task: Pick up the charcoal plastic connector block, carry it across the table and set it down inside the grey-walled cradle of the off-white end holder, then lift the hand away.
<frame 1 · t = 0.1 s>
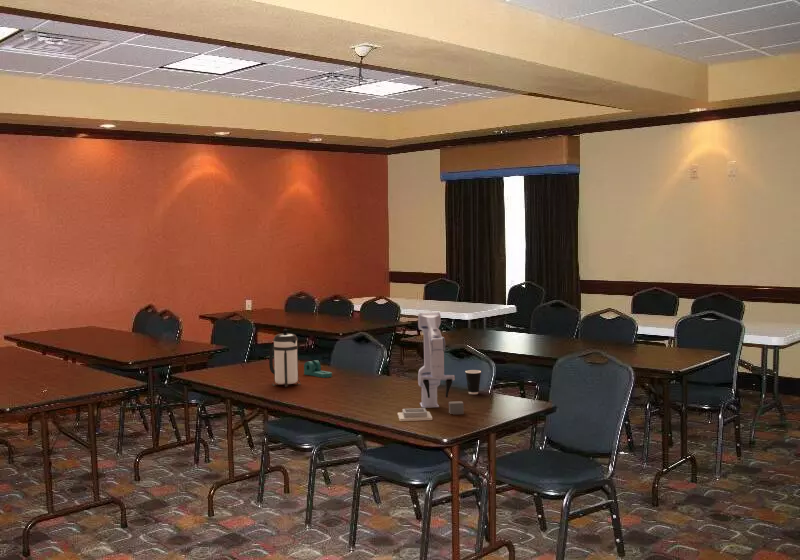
hand: (437, 397, 347), 10 cm above the table, fingers open, 7 cm apart
end holder: (414, 417, 353), on the table
coffee press: (284, 385, 431), on the table
bracket: (319, 376, 457), on the table
dixie cup: (473, 393, 402), on the table
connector: (456, 413, 360), on the table
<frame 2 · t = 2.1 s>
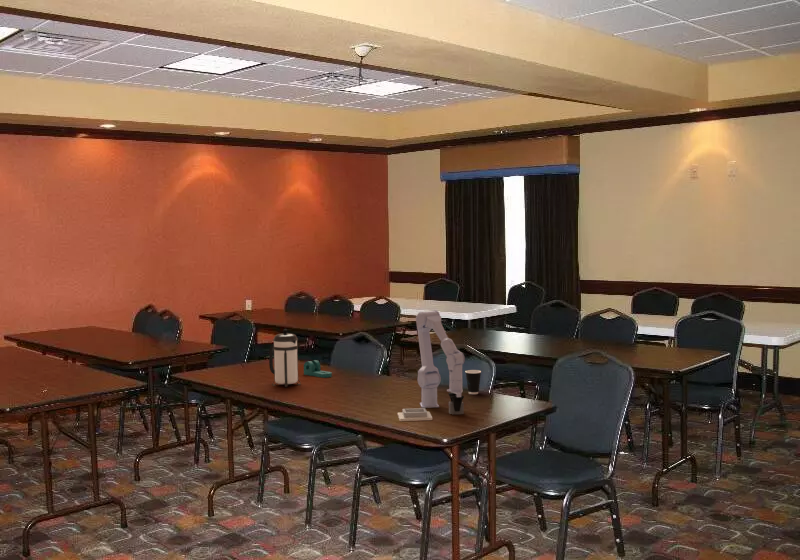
hand: (456, 410, 360), 1 cm above the table, fingers closed on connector, 4 cm apart
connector: (456, 413, 360), on the table, touching gripper
everything else where it was.
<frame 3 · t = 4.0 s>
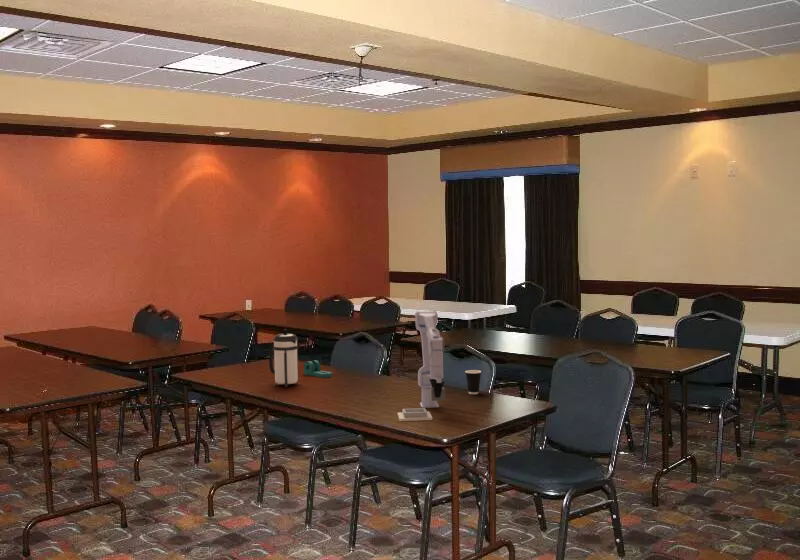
hand: (436, 396, 356), 8 cm above the table, fingers closed on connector, 4 cm apart
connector: (437, 399, 356), point 7 cm above the table, touching gripper
everything else where it was.
when the fingers open (4 cm above the table, at t = 6.3 s): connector drops 1 cm, resting on end holder.
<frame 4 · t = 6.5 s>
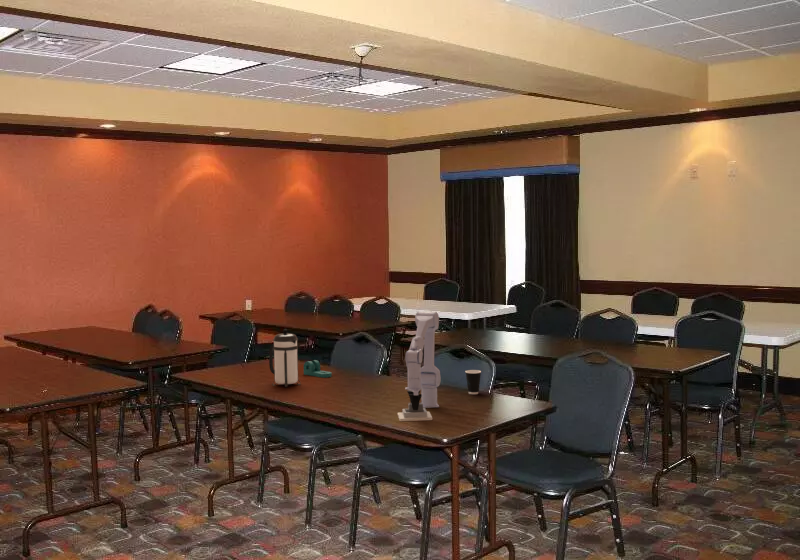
hand: (414, 408, 353), 4 cm above the table, fingers open, 5 cm apart
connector: (415, 415, 353), point 1 cm above the table, touching end holder
everything else where it was.
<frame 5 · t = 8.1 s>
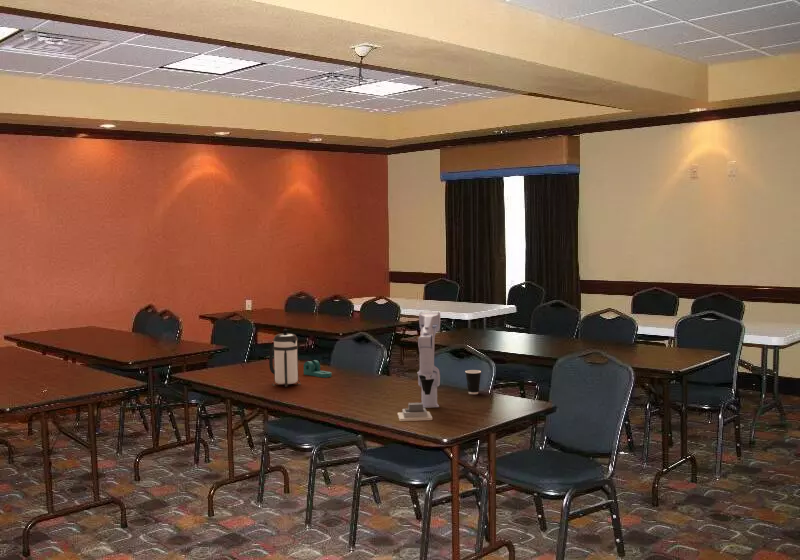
hand: (426, 392, 359), 9 cm above the table, fingers open, 7 cm apart
nothing on the table moved.
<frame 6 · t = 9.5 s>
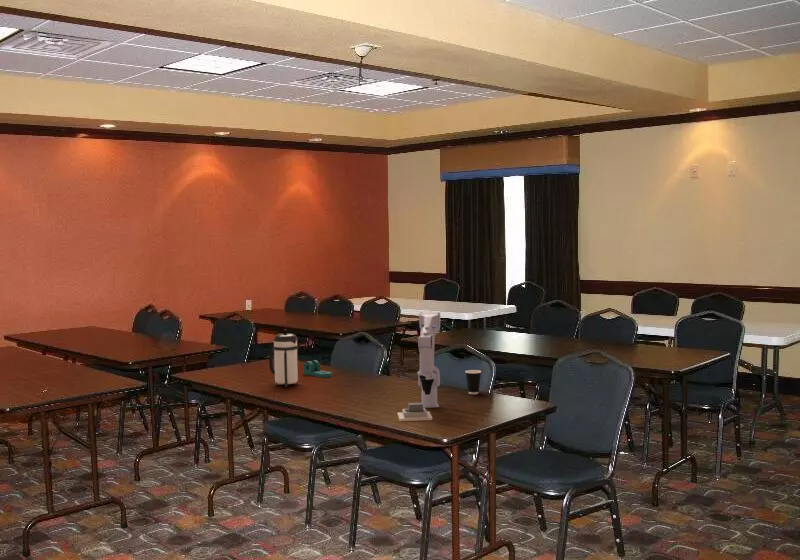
hand: (426, 392, 359), 9 cm above the table, fingers open, 7 cm apart
nothing on the table moved.
at the end: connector 0.4 cm off-centre on the end holder, point 1.0 cm above the end holder's base; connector tilted 0°; the gripper is holding nothing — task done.
